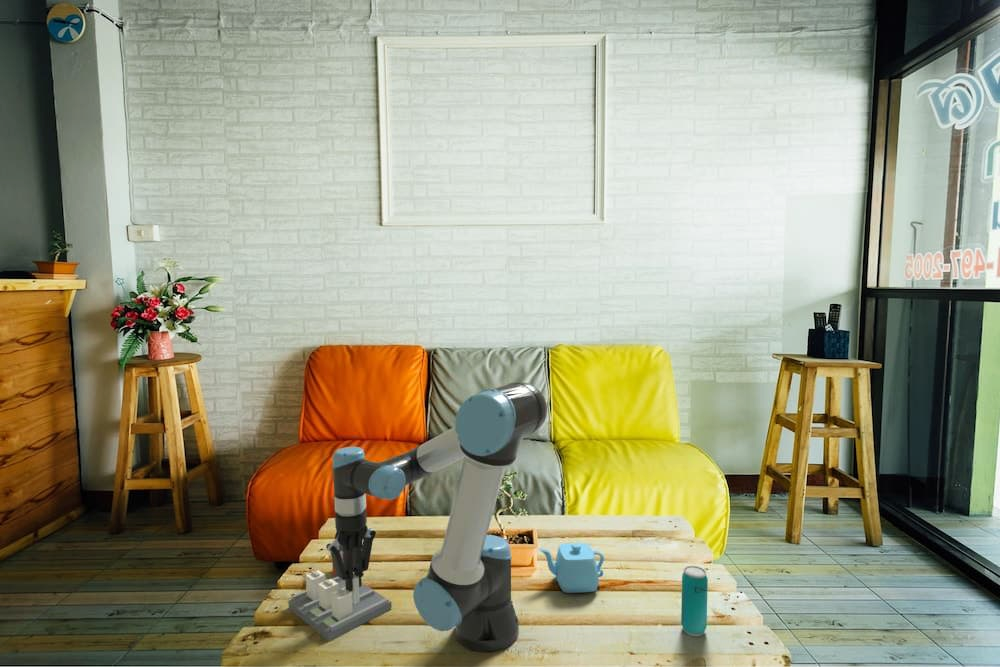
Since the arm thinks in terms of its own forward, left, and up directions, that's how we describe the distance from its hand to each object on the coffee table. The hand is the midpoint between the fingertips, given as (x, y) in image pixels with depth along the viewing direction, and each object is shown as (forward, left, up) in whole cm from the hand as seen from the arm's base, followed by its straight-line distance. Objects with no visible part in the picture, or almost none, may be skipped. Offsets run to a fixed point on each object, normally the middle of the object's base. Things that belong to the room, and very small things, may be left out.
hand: (354, 600), depth 143 cm
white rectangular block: (+6, +3, -2) cm, 8 cm away
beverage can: (-65, -53, -5) cm, 84 cm away
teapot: (-31, -50, -5) cm, 58 cm away
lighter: (+22, -10, -5) cm, 25 cm away
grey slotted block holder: (+6, 0, -5) cm, 8 cm away
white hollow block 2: (0, +4, -2) cm, 4 cm away
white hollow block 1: (+13, +3, -2) cm, 13 cm away
